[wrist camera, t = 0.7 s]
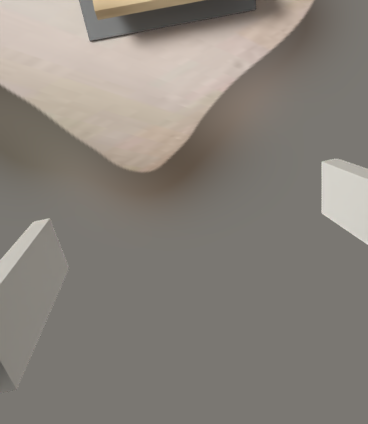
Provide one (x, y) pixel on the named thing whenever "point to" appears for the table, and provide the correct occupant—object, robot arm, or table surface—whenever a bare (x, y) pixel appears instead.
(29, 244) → the robot arm
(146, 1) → the board
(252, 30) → the table surface
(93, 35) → the underlay mat
